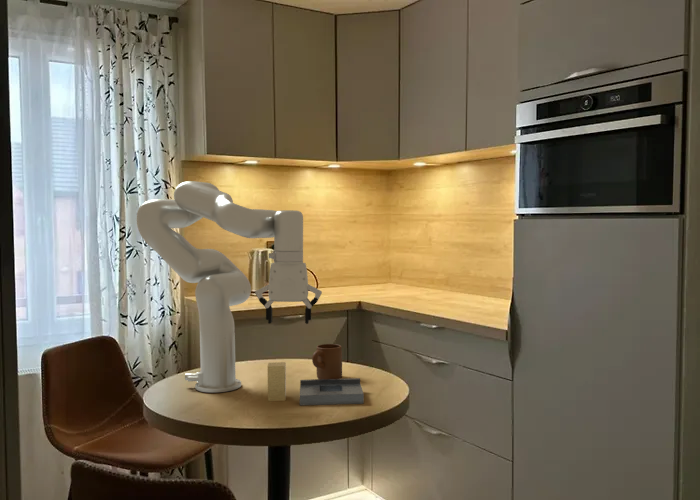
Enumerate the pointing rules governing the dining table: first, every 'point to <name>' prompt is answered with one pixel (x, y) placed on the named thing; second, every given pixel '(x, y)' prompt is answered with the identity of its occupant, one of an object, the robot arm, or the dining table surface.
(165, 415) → the dining table surface
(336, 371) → the mug
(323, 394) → the jig
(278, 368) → the tan cardboard box
